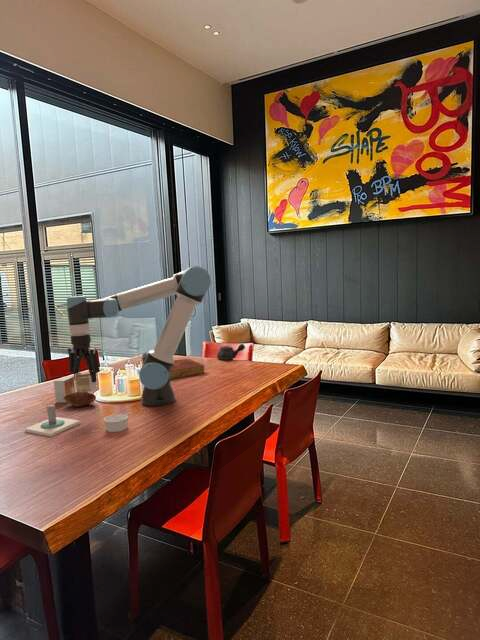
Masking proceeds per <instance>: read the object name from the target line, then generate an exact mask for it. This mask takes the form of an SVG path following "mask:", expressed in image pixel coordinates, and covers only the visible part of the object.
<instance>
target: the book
mask: <svg viewBox="0 0 480 640" xmlns="http://www.w3.org/2000/svg"><path fill="white" fill-rule="evenodd" d="M200 374H205V364H202V363H200V362H197V361H196V360H192V359H191V358H181V359H177V360H174V365H173V367H172V369H171V371H170V380H172V379H177V378H179V379H180V378H184V377H188V376H194V375H200Z"/></svg>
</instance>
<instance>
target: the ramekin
mask: <svg viewBox="0 0 480 640" xmlns="http://www.w3.org/2000/svg"><path fill="white" fill-rule="evenodd" d="M128 420H129V415H127V414H122V413H118V414H111V415H107V416H106V417H104V418H103V422H104V427H105V431H106V432H108V433H120V432H123V431H125V430H126V429H127V428H128V422H129V421H128Z"/></svg>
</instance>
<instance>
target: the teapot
mask: <svg viewBox="0 0 480 640" xmlns="http://www.w3.org/2000/svg"><path fill="white" fill-rule="evenodd" d="M245 349H246V346H245V345H244V344H243V343H241V344H239V345H238V347H237V348H236V349H235V350H234V348H233V346H230V345H226V346H220V347H219V349H218V352H217V354H216V357H217V359H218V360H222V361H229V360H233V359H236V357H237V355H238V353H239V352H242V351H243V350H245Z"/></svg>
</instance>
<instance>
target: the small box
mask: <svg viewBox="0 0 480 640" xmlns="http://www.w3.org/2000/svg"><path fill="white" fill-rule="evenodd" d="M53 387H54V397H55V403H62V404H64V403H65V404H67V402H66V401H65V400H64V399H63V398H64V397H65V396H66V395H69V394H73V393H76V384H75V380H74V376H62V377H60V378H58V379H55V380H53Z"/></svg>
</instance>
